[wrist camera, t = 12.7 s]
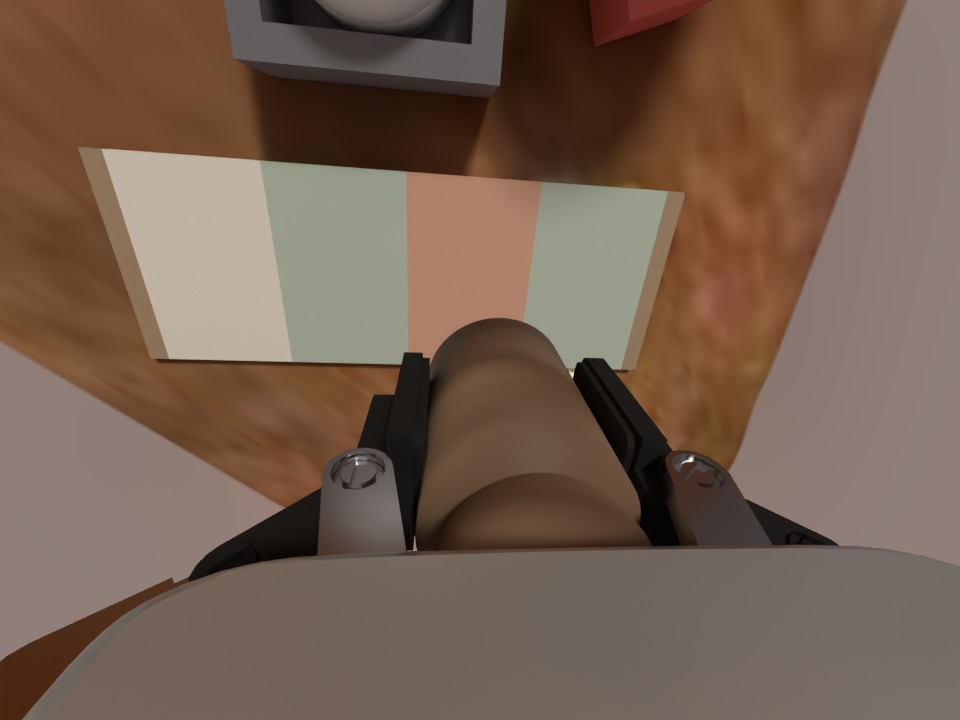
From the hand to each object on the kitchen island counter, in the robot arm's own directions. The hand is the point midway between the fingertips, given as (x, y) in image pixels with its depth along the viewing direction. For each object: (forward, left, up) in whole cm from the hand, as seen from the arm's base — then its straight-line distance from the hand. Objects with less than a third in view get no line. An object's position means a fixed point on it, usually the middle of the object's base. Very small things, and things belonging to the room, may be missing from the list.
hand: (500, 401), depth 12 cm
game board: (-4, 0, -13) cm, 13 cm away
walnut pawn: (0, 0, -1) cm, 1 cm away
